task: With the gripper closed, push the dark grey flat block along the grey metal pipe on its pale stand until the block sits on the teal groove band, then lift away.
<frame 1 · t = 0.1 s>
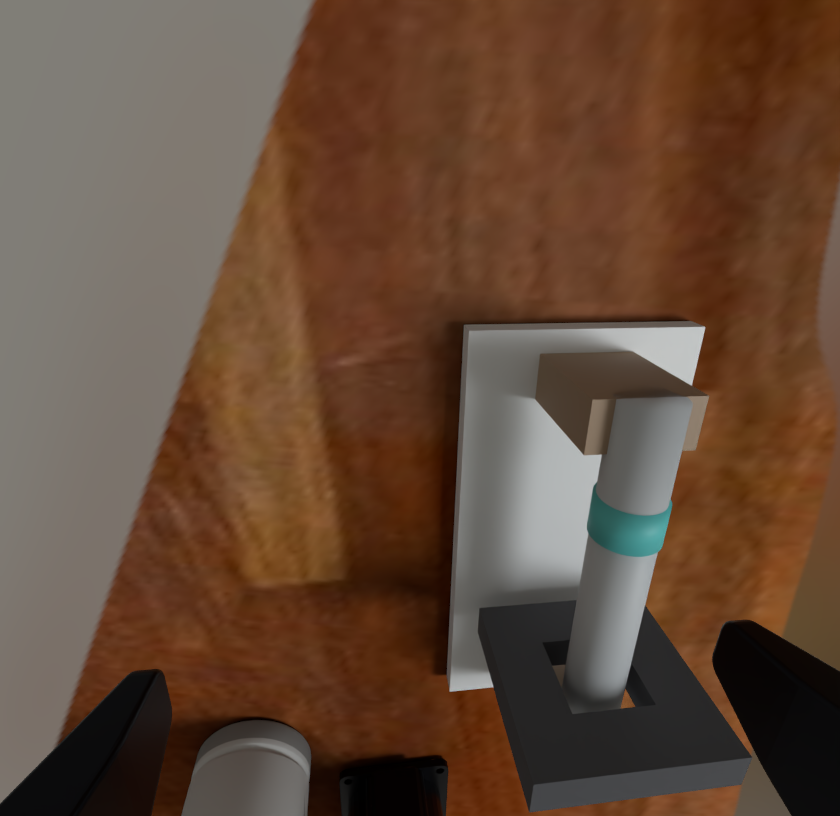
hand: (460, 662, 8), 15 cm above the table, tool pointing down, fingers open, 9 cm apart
dark grey flat block: (593, 684, 22), point 6 cm above the table, slide at 0.0 cm
travel mug: (254, 753, 30), on the table
pipe stand: (553, 521, 26), on the table
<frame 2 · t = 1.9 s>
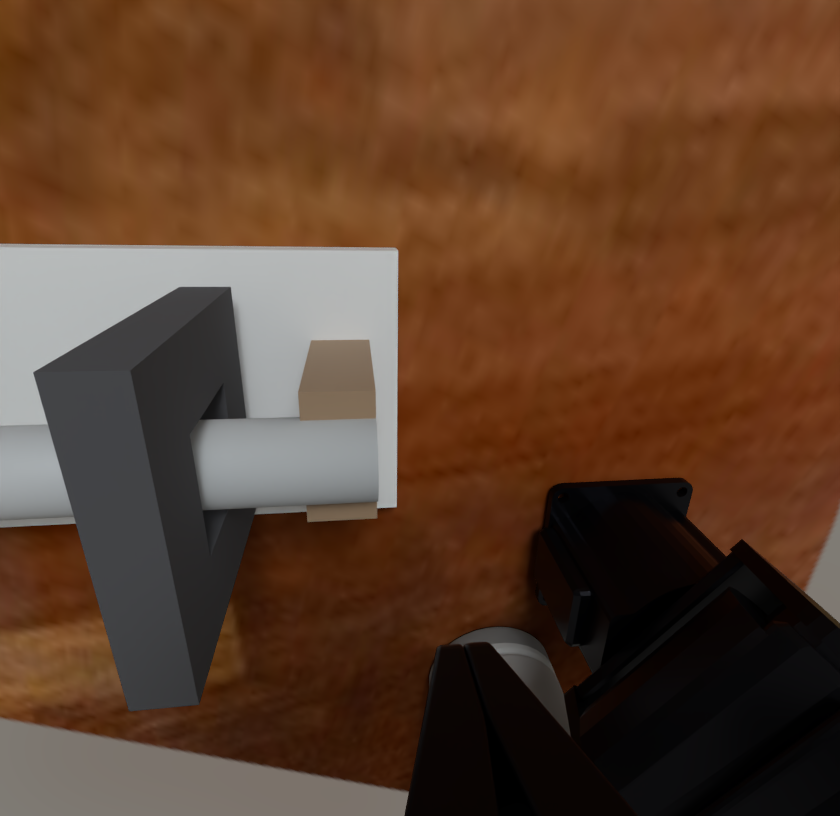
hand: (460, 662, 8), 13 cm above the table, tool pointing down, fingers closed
dark grey flat block: (187, 465, 14), point 6 cm above the table, slide at 0.0 cm
travel mug: (489, 667, 27), on the table
pipe stand: (119, 388, 19), on the table
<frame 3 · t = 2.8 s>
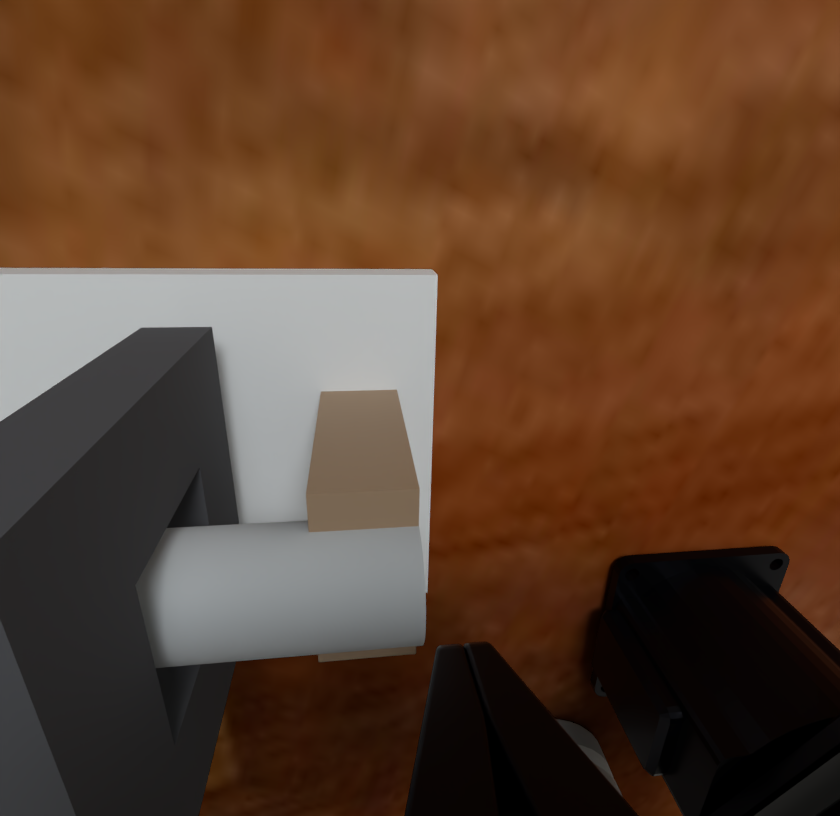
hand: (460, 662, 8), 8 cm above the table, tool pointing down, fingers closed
dark grey flat block: (145, 596, 9), point 6 cm above the table, slide at 0.0 cm
travel mug: (530, 761, 23), on the table
pipe stand: (71, 452, 14), on the table
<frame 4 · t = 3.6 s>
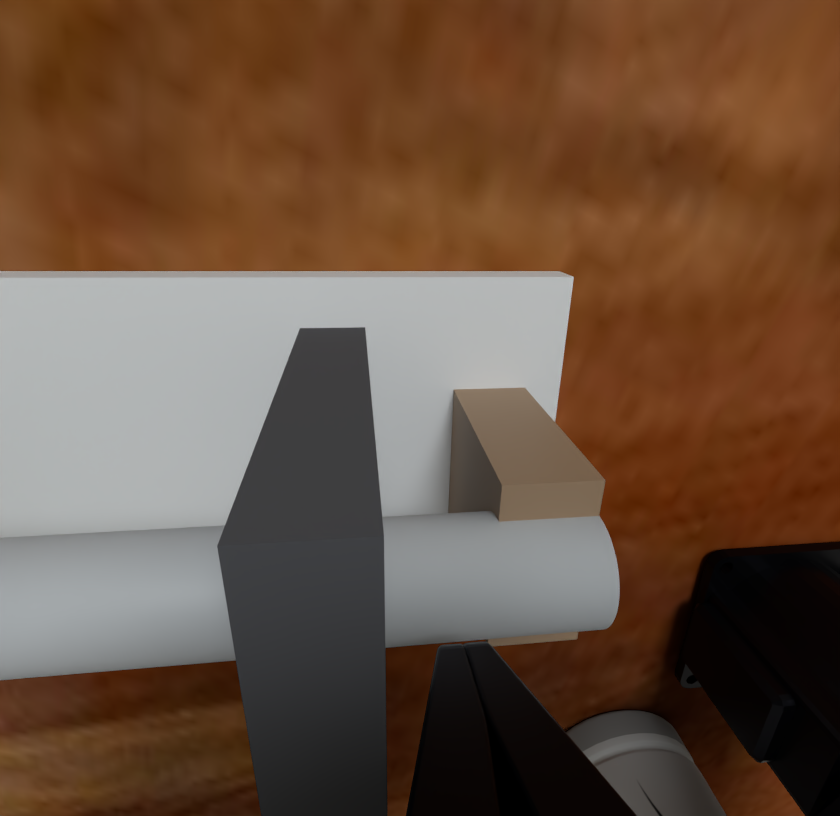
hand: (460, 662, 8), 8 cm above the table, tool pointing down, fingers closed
dark grey flat block: (335, 583, 10), point 6 cm above the table, slide at 0.1 cm, touching gripper
travel mug: (608, 752, 23), on the table
pipe stand: (206, 448, 15), on the table
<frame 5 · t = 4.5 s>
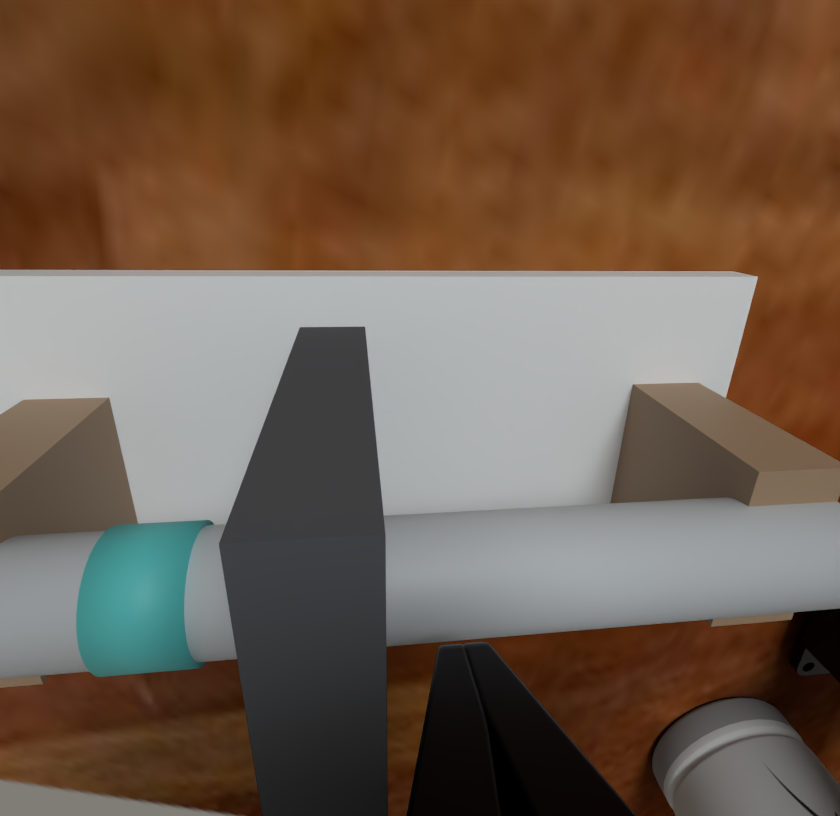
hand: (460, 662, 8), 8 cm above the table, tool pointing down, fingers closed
dark grey flat block: (335, 582, 10), point 6 cm above the table, slide at 5.3 cm, touching gripper
travel mug: (714, 739, 24), on the table
pipe stand: (384, 440, 16), on the table
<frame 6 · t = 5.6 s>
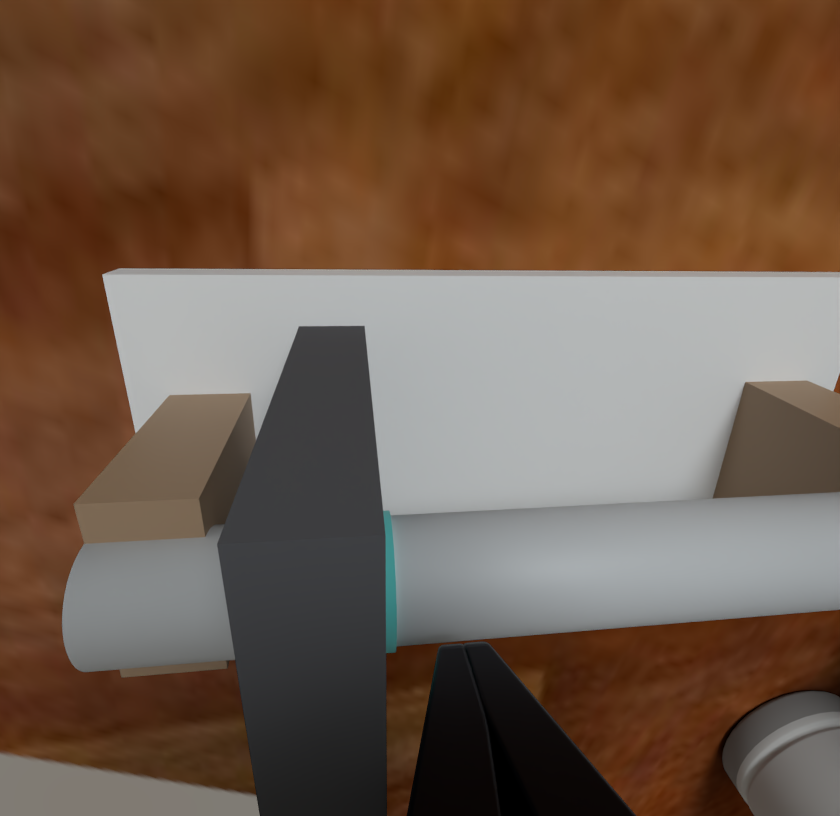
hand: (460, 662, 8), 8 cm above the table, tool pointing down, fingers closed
dark grey flat block: (334, 582, 10), point 6 cm above the table, slide at 8.8 cm, touching gripper
travel mug: (782, 732, 24), on the table
pipe stand: (497, 436, 16), on the table
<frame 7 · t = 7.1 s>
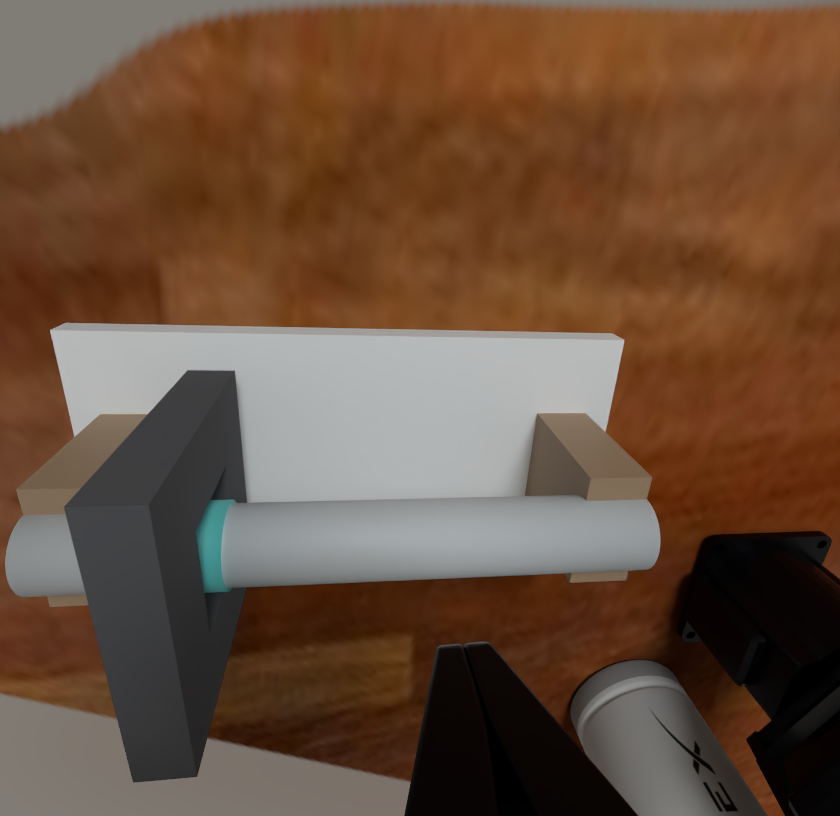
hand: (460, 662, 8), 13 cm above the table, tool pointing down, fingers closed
dark grey flat block: (191, 546, 15), point 6 cm above the table, slide at 8.8 cm
travel mug: (622, 695, 29), on the table
pipe stand: (357, 448, 21), on the table
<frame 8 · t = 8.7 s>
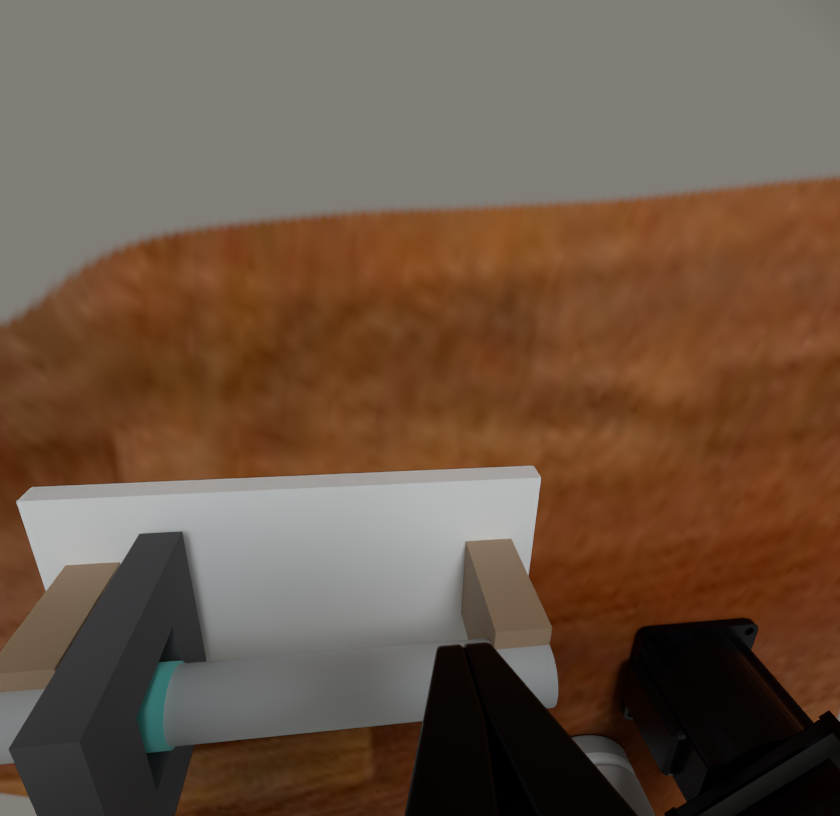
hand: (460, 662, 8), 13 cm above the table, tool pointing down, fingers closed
dark grey flat block: (141, 707, 17), point 6 cm above the table, slide at 8.8 cm
travel mug: (574, 765, 31), on the table
pipe stand: (304, 573, 23), on the table
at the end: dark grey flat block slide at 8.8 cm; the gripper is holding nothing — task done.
